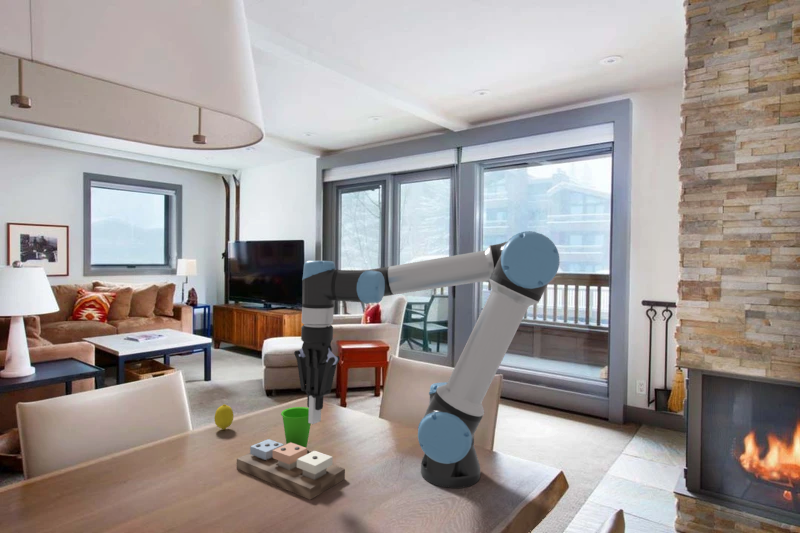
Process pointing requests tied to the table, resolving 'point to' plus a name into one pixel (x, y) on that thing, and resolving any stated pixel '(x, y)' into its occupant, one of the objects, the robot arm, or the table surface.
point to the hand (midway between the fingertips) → (314, 421)
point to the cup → (296, 425)
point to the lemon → (223, 416)
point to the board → (290, 476)
